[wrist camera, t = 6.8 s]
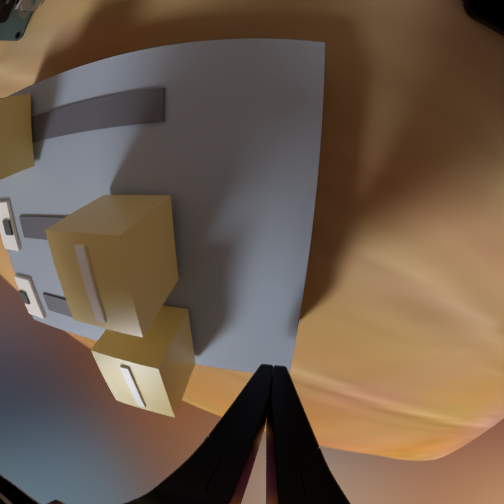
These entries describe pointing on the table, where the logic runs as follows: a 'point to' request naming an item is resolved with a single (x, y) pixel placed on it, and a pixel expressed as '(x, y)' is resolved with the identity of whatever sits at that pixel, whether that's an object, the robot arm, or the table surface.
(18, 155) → the slider
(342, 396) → the table surface
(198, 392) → the table surface
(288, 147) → the switch unit
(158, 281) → the slider
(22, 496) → the robot arm
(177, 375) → the slider
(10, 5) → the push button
